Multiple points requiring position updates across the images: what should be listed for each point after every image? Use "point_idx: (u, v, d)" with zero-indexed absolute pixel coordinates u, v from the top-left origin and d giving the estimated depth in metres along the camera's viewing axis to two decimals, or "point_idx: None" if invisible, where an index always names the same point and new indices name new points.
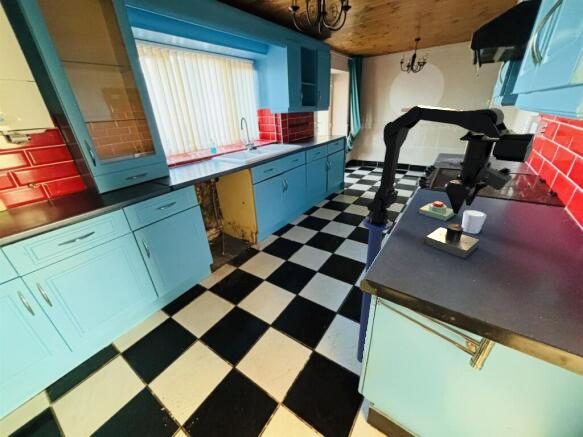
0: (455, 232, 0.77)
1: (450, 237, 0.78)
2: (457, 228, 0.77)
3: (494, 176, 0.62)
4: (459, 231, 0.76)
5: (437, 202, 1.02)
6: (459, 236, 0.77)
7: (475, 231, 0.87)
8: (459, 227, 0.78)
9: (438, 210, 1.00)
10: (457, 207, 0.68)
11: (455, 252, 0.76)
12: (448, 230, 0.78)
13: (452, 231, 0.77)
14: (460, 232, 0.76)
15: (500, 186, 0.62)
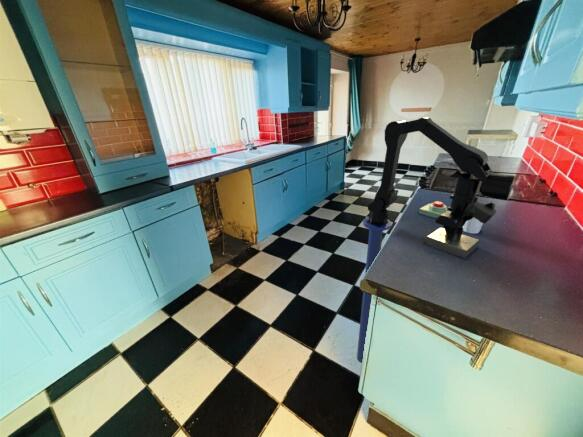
0: (455, 232, 0.77)
1: None
2: None
3: (480, 211, 0.69)
4: (459, 231, 0.76)
5: (437, 202, 1.02)
6: (459, 236, 0.77)
7: (475, 231, 0.87)
8: (459, 227, 0.78)
9: (438, 210, 1.00)
10: (451, 234, 0.77)
11: (455, 252, 0.76)
12: None
13: None
14: (460, 232, 0.76)
15: (485, 220, 0.69)
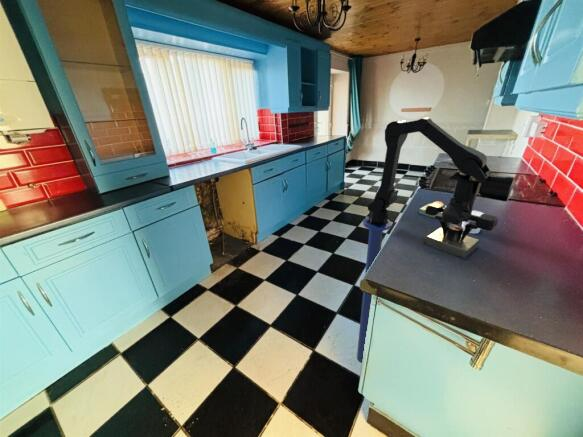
0: (447, 228, 0.79)
1: None
2: (453, 227, 0.78)
3: None
4: (448, 228, 0.78)
5: (437, 202, 1.02)
6: (448, 234, 0.79)
7: (475, 231, 0.87)
8: (457, 229, 0.77)
9: None
10: None
11: (455, 252, 0.76)
12: None
13: None
14: (449, 230, 0.78)
15: (442, 217, 0.73)
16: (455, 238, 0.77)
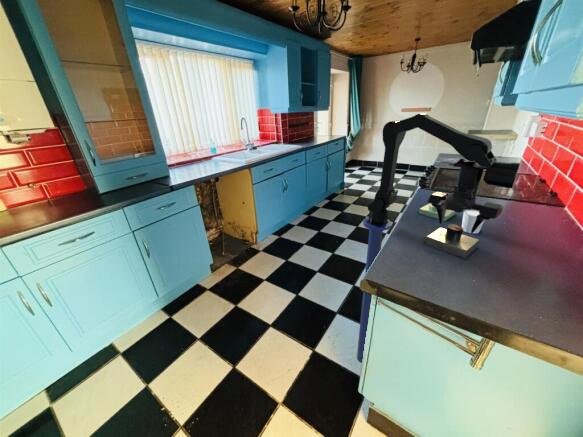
0: (447, 228, 0.79)
1: None
2: (453, 227, 0.78)
3: None
4: (448, 228, 0.78)
5: None
6: (448, 234, 0.79)
7: (475, 231, 0.87)
8: (457, 229, 0.77)
9: None
10: None
11: (455, 252, 0.76)
12: None
13: None
14: (449, 230, 0.78)
15: (444, 205, 0.72)
16: (455, 238, 0.77)
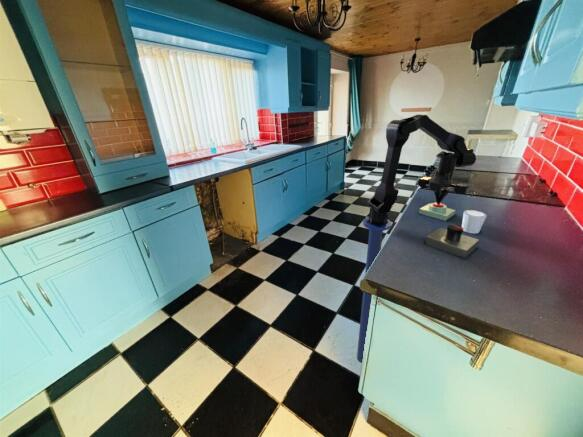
0: (447, 228, 0.79)
1: None
2: (453, 227, 0.78)
3: None
4: (448, 228, 0.78)
5: None
6: (448, 234, 0.79)
7: (475, 231, 0.87)
8: (457, 229, 0.77)
9: (438, 210, 1.00)
10: None
11: (455, 252, 0.76)
12: None
13: None
14: (449, 230, 0.78)
15: (429, 185, 0.96)
16: (455, 238, 0.77)
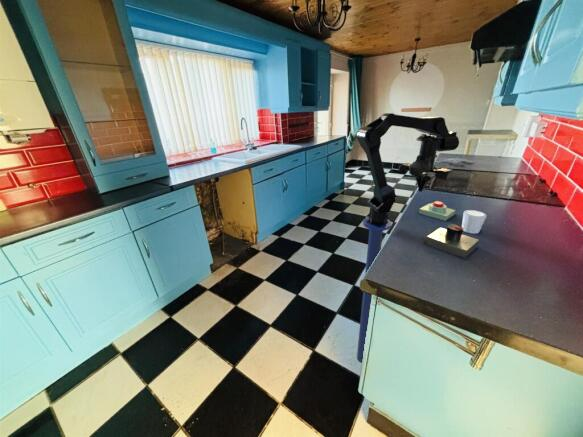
0: (447, 228, 0.79)
1: None
2: (453, 227, 0.78)
3: None
4: (448, 228, 0.78)
5: (437, 202, 1.02)
6: (448, 234, 0.79)
7: (475, 231, 0.87)
8: (457, 229, 0.77)
9: (438, 210, 1.00)
10: None
11: (455, 252, 0.76)
12: None
13: None
14: (449, 230, 0.78)
15: (409, 171, 0.90)
16: (455, 238, 0.77)
